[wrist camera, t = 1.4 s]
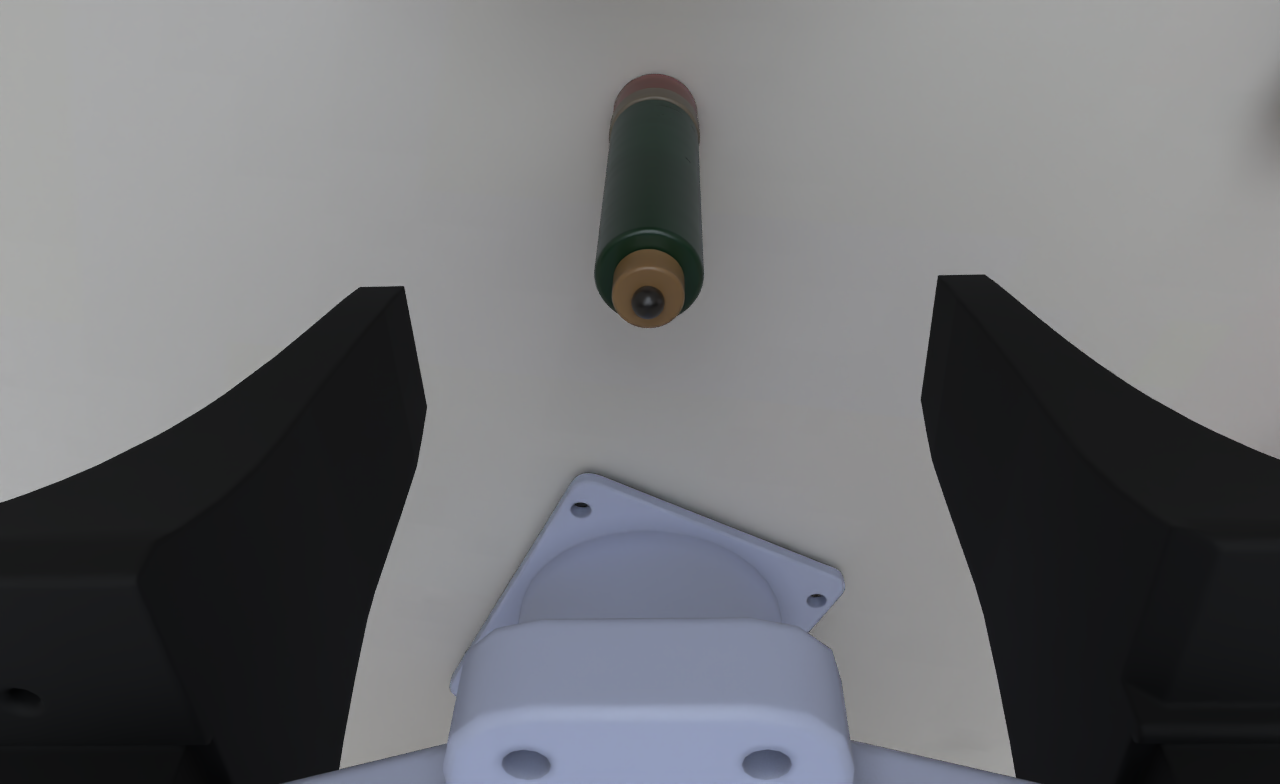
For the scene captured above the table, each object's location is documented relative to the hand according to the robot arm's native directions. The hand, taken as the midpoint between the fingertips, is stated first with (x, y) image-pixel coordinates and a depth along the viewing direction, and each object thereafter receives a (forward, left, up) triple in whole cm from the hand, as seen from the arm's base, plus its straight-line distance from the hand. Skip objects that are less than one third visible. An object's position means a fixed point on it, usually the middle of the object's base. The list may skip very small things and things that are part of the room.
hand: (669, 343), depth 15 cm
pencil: (0, 0, -9) cm, 9 cm away
